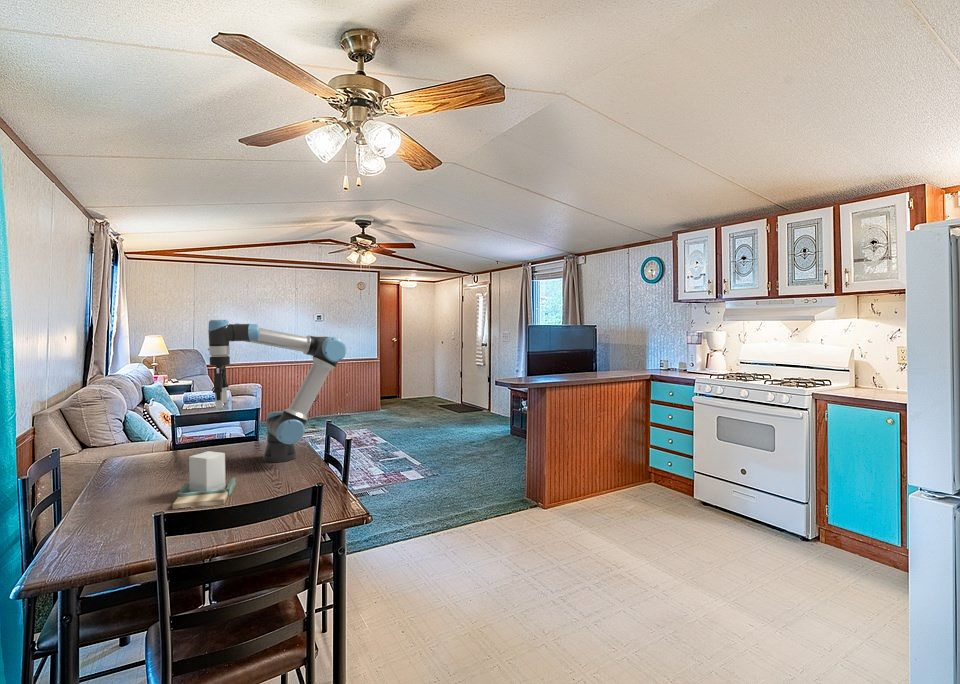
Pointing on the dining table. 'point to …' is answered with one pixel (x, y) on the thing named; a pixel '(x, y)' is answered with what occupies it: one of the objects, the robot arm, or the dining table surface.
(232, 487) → the green and wood frame
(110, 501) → the dining table surface
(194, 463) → the supplement box
